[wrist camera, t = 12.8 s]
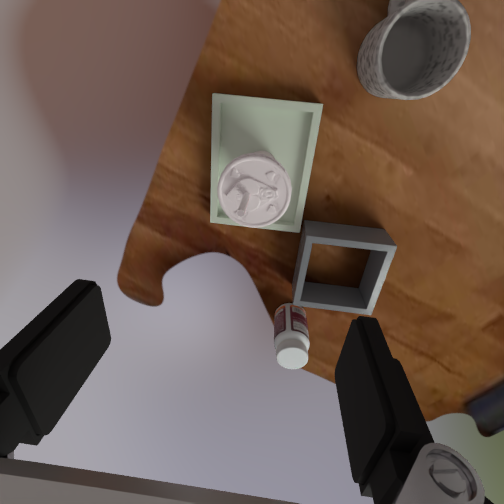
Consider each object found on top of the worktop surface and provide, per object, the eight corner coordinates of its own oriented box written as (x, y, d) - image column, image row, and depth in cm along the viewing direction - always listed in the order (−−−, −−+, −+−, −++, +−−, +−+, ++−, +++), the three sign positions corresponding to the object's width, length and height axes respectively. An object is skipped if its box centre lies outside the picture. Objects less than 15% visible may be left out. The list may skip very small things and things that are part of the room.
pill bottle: (278, 328, 46) (278, 373, 38) (271, 304, 44) (269, 348, 36) (309, 323, 45) (314, 369, 37) (303, 299, 43) (307, 343, 35)
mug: (427, 90, 29) (463, 90, 23) (357, 103, 30) (375, 107, 24) (438, -46, 24) (487, -89, 18) (355, -24, 25) (376, -57, 19)
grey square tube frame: (304, 219, 36) (306, 235, 33) (384, 229, 36) (397, 246, 32) (291, 284, 41) (292, 305, 37) (362, 293, 41) (371, 314, 37)
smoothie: (230, 139, 32) (197, 169, 20) (289, 135, 31) (293, 165, 19) (236, 195, 35) (210, 252, 23) (290, 193, 34) (293, 251, 22)
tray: (215, 93, 30) (212, 93, 29) (321, 103, 30) (323, 104, 29) (213, 216, 37) (210, 222, 36) (298, 226, 37) (299, 232, 35)
